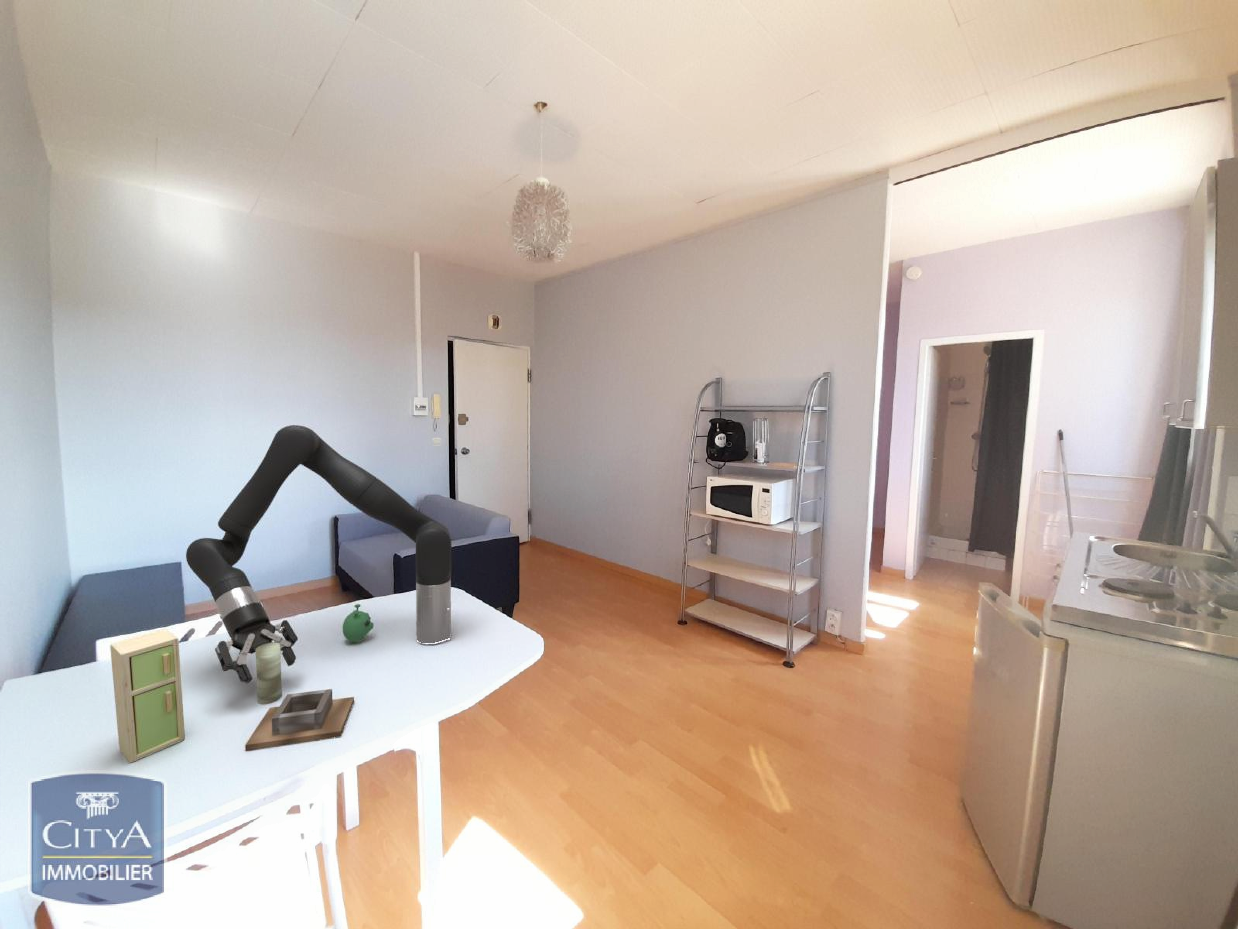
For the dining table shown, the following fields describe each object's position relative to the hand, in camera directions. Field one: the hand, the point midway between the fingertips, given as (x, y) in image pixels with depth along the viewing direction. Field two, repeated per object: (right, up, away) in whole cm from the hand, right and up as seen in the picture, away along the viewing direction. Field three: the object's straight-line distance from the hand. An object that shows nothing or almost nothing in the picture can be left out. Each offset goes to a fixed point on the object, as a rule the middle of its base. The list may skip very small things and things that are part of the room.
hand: (271, 672), depth 106 cm
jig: (+12, -8, -7) cm, 16 cm away
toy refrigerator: (-12, -8, -15) cm, 20 cm away
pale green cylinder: (-1, -6, +1) cm, 7 cm away
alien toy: (+4, -4, +29) cm, 29 cm away
